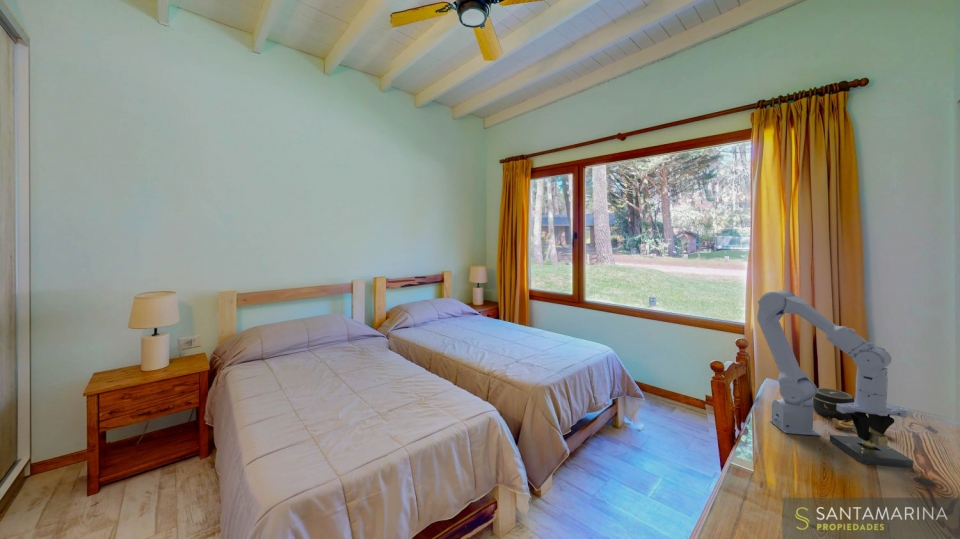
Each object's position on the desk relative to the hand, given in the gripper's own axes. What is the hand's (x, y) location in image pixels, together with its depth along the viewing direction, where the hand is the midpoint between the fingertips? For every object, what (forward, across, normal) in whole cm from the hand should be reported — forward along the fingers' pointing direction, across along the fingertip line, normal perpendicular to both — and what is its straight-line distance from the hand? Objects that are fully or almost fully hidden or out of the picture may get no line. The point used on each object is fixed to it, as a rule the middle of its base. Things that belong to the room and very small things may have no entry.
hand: (869, 439), depth 96 cm
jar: (+4, +8, +25) cm, 27 cm away
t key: (+3, 0, 0) cm, 3 cm away
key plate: (+4, 0, 0) cm, 4 cm away
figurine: (+3, +14, +13) cm, 19 cm away
